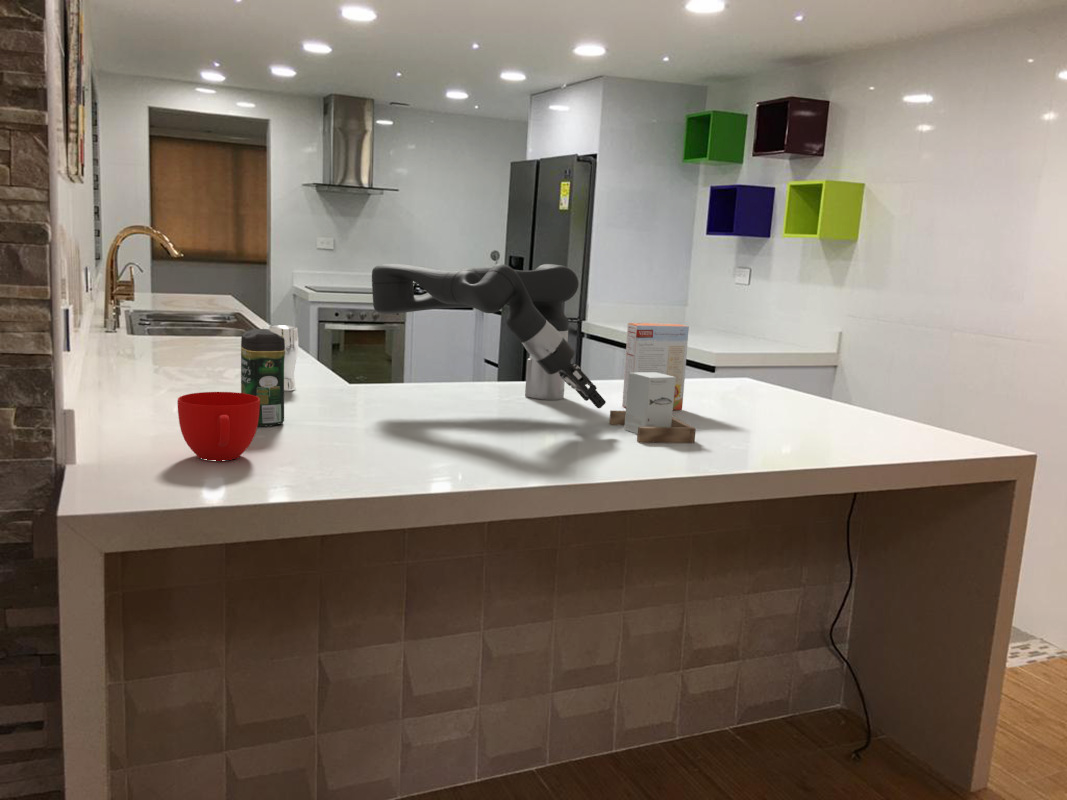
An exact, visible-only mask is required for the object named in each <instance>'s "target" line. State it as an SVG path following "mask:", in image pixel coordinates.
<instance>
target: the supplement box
mask: <svg viewBox="0 0 1067 800" xmlns="http://www.w3.org/2000/svg"><path fill="white" fill-rule="evenodd" d="M675 381H676V377H673V376H670V375H665V374H661V373H657V372H638V373H629V381H628V392H627V403H626V408H625V411H626V415H625V425H623V426H624V430H625V431H628V432H631V433H632V434H635V435H638V427H671V423H672V417H673V411H674V410H673V402H674V392H675Z"/></svg>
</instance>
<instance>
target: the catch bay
mask: <svg viewBox="0 0 1067 800" xmlns="http://www.w3.org/2000/svg"><path fill="white" fill-rule="evenodd" d="M625 415H626V410H610V412H609V423H608V424H609V425H611V426H625ZM696 430H697V428H696V427H694V426H691V425H689V424H688V423H686V422H684V421H682V420H680V419H678V418H676V417H674V416H672V423H671V427H638V434H637V439H636V442H638V443H640V444H642V443H643V444H644V443H645V444H646V443H650V444H651V443H660V444H661V443H663V444H664V443H665V444H666V443H667V444H668V443H670V444H672V443H673V444H678V443H679V444H685V443H686V444H690V443H691V444H692V443H693V444H695V439H696Z"/></svg>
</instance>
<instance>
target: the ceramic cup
mask: <svg viewBox="0 0 1067 800" xmlns="http://www.w3.org/2000/svg"><path fill="white" fill-rule="evenodd" d="M259 410H260V399H259V398H258V397H257V396H254V395H250V394H245V393H241V392H236V391H235V392H234V391H232V392H231V391H203V392H195V393H194V392H193V393H188V394H183V395H181V396H179V397H178V398H177V413H178V423H179V427H180V432H181V434H182V437H183V439H184V441H185V444H187V446H188V448H189V449H190V450H191V451H192V452H193V453H194V454H195V455H196V456H197V458H198V457H199V458H202V459H207V460H216V461H222V460H231V461H233V460H232V459H235V460H237V459H236V458H238V459H240V457H241V455H242V454H243V453H245V451H246V450H247V449H248V448H249V446H250V445H251V443H252V442H253V440H254V438H255V436H256V433H257V429H258V420H259ZM199 458H198V459H199ZM222 462H223V461H222Z"/></svg>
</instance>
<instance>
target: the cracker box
mask: <svg viewBox="0 0 1067 800" xmlns="http://www.w3.org/2000/svg"><path fill="white" fill-rule="evenodd" d="M689 329H690V327H689V326H688V325H684V324H681V323H655V322H651V323H650V322H629V323H627V332H626V333H627V334H626V345H625V346H626V347H625V358H624V359H625V363H624V376H623V377H624V379H623V391H622V403H621V404H622V408H625V409H626V403H627V392H628V381H629V373H638V372H657V373H661V374H665V375H670V376H673V377H676V381H675V392H674V402H673V411H682V410H683V405H684V404H683V403H684V402H683V401H684V391H685V378H686V368H687V367H686V365H687V352H688V341H689Z"/></svg>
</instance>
